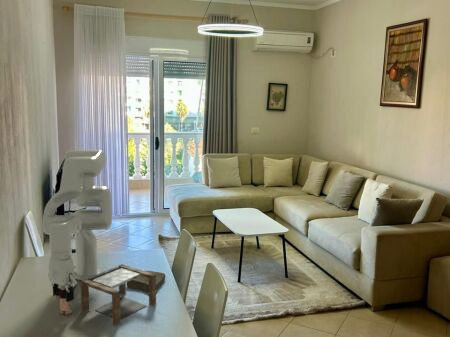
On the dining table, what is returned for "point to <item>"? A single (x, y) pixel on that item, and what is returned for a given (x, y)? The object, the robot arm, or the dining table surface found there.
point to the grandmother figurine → (63, 300)
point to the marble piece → (146, 282)
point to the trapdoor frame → (118, 297)
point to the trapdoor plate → (114, 277)
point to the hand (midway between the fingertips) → (63, 297)
